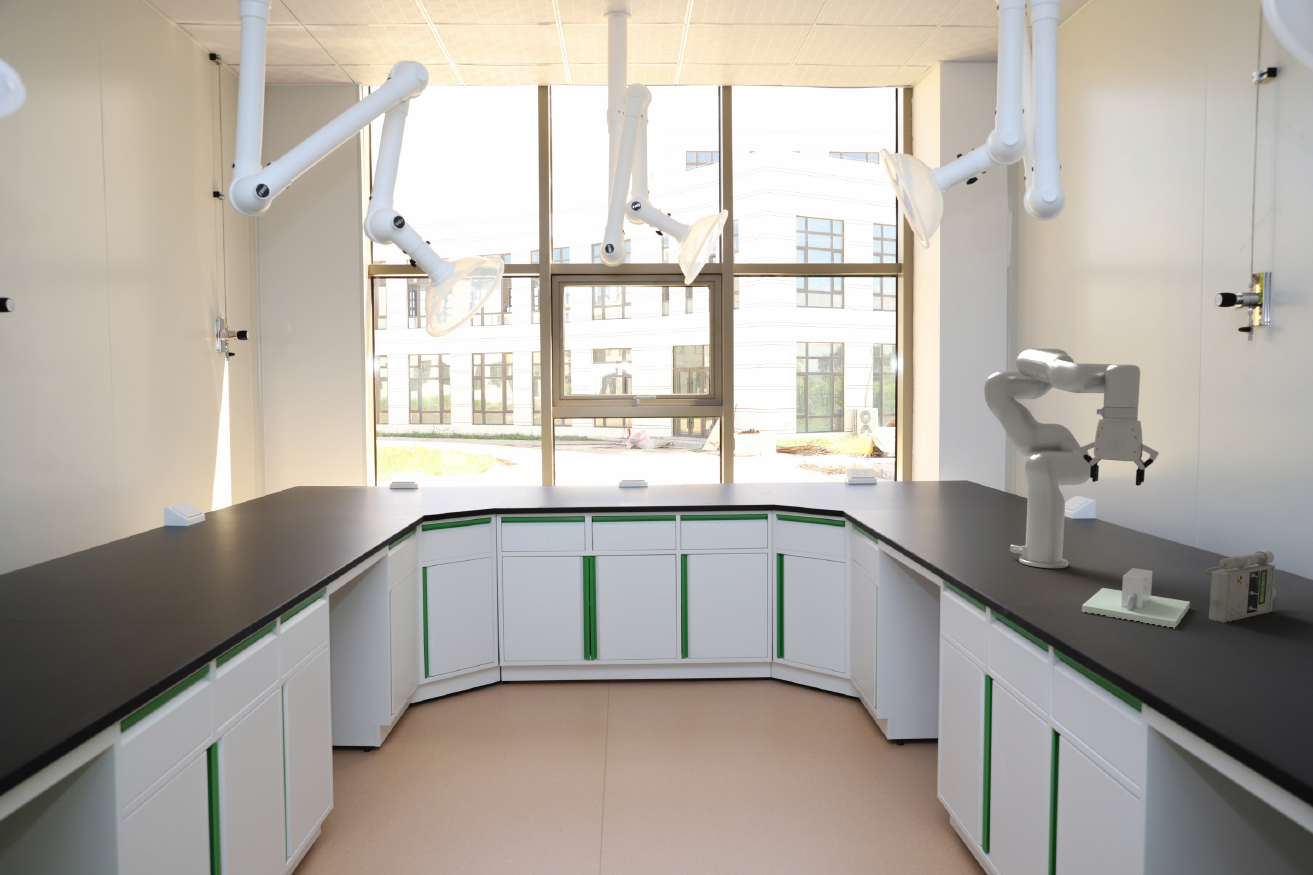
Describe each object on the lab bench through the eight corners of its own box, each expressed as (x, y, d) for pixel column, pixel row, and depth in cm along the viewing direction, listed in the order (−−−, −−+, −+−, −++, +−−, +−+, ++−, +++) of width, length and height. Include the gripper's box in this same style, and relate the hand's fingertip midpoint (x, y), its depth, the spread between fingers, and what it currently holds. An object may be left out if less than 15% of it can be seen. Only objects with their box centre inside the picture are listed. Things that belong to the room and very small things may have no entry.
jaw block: (1121, 606, 185) (1123, 575, 185) (1131, 597, 193) (1132, 567, 192) (1141, 609, 183) (1143, 578, 182) (1150, 600, 190) (1152, 570, 189)
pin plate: (1081, 611, 186) (1082, 592, 185) (1102, 593, 201) (1103, 575, 201) (1175, 628, 174) (1176, 607, 174) (1189, 608, 190) (1190, 588, 189)
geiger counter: (1232, 560, 176) (1294, 550, 188) (1201, 554, 182) (1263, 544, 194) (1227, 624, 178) (1289, 609, 189) (1197, 616, 183) (1258, 602, 195)
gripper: (1078, 413, 207) (1074, 481, 208) (1157, 416, 196) (1153, 488, 197) (1085, 412, 213) (1082, 478, 214) (1163, 415, 202) (1159, 485, 203)
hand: (1116, 483), depth 206 cm, fingers open, 9 cm apart
